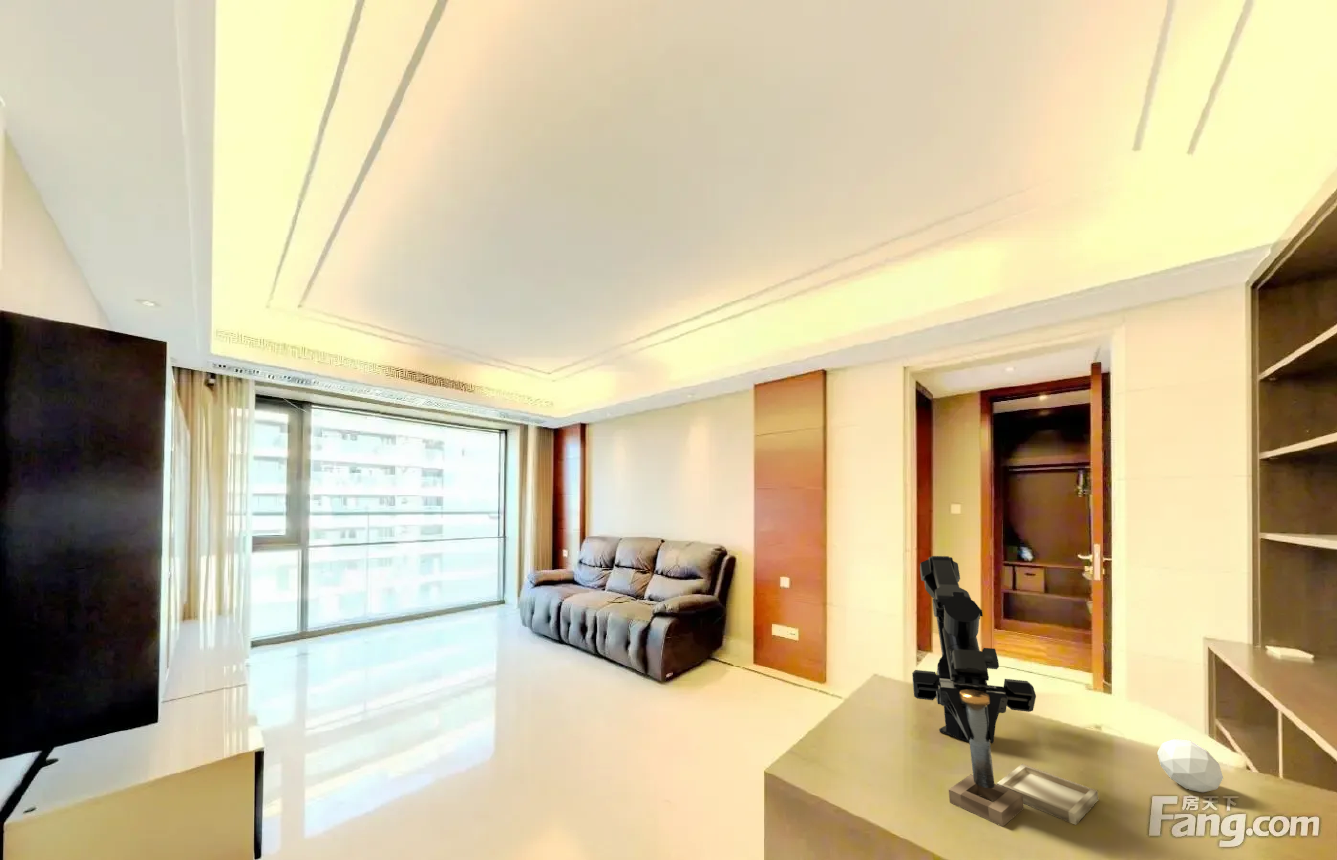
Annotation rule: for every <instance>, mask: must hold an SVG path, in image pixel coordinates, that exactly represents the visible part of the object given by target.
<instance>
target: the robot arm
mask: <svg viewBox="0 0 1337 860" xmlns="http://www.w3.org/2000/svg"><path fill="white" fill-rule="evenodd" d="M919 565H920V566H919V571H920V580H921V582H924V588H925V591H926V592H927V594H929V596H930V597H931V598H932V610H933V615H934V618H936V624H937V630H938V637H939V644H940V648H941V649H940V651H941V657H940V658H939V660H938V663H937V667H936V671H932V670H931V671H929V670H920V669H919V670H918V669H915V670H914V671H913V672H912V687H913V697H914V698H915V699H917V700H918V699H919V700H926V701H934V700H935V699H936V702H937V704H938V705H940V706H942V707H943V711H944V712H943V714H944V722H945V725H944V726H942V727H940V728H939V729H938V731H939V733H942V734H945V735H947V736H951V737H954V738H956V739H959V740H962V741H965V742H968V743H970V741H969V740H970V732H969V727H968V723H967V713H966V704H965V702H964V701H962V700H961V699H960V691H961V690H965V689H970V690H977V691H981V692H984V693H986V694H988V695H989V696H990V704H989V705H986V712H987V721H988V730H989V739H990V744H993V745H994V740H995V733H996V732H995V731H996V726H997V724H996V723H997V720H998V717H999V714H1005V713H1006V712H1007V707H1008V709H1010V710H1011V711H1019V712H1027V713H1030V712H1033V711H1034V708H1035V703H1036V698H1037V695H1036V692H1035V689H1034V686H1033V685H1032V684H1031V683H1030V682H1029V681H1028V680H1023V679H1022V680H1021V679H1011V678H1004V681H1003V682H1004V683H1003V686H999V685H991V684H990V685H989V684H988V681H989V678H990V676H989V672H988V670H990V669H991V670H999V669H998V668H999V667H1000V664H999V659H998V655H997V650H996V648H992V647H990V648H989V647H983V649H982V650H980V647H979V643H978V637H977V636H978V634H979V627H980V626H979V625H980V620H981V617H984V615H983V609H981V608H980V607H979V605H978V604H977V603H976V602H975V601H974V600H973V599H972V598H971V595H970V594H969V592H968V591H967V590H965V589H964V588H962V587H960V584H959V582H960V580H961V575H960V568H959V563H958V562H956V561H954V560H953V556H952V557H950V556H949V555H947V556H946V555H943V556H942V555H932V556H929V557H928V559H926V560H923V561H921V562H920V564H919Z"/></svg>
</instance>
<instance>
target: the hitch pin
mask: <svg viewBox="0 0 1337 860" xmlns="http://www.w3.org/2000/svg"><path fill="white" fill-rule="evenodd" d="M960 699H961V700H962V701H964V702H965V704H966V713H967V723H968V727H969V732H970V740H969V741H970V742H969V748H970V758H971V759H970V760H971V767H972V775H973V779H974V783H975V784H977V785H979V786H981V787H984V788H993V787H995V784H996V783H995V776H994V767H993V760H992V759H993V757H992V748H991V742H990V739H989V730H988V721H987V712H986V705H989V704H990V696H989V695H988V694H986V693H984V692H981V691H977V690H970V689H965V690H961V691H960Z"/></svg>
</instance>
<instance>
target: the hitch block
mask: <svg viewBox="0 0 1337 860" xmlns="http://www.w3.org/2000/svg"><path fill="white" fill-rule="evenodd" d="M948 797H949V803H950V804H953V805H955V806H957V807H958V808H961V809H963V810H966V811H967V812H970V813H972V814H974V815H976V816H979V817H981V818H983V819H985V820H986V821H987V820H988V821H989V822H992V823H994V824H996V825H998V824H999V825H998V826H1001V827H1004V826H1006V825H1007V824H1008V823H1009V822H1010V821H1012V819H1014V818H1015V817H1016V816H1017V815H1018V814H1020V813H1021V811H1023V810H1024V809H1025V804H1024V803H1023V796H1022V795H1021V794H1019V793H1016V792H1014V791H1011V790H1009V789H1006V788H1004V787H1001V786H999V785H997V783H995V787H993V788H984V787H981V786H979V785H977V784H975V783H974V779H973V774H969V775H968V776H966V777H964V778H963V779H962V780H961V781H959V782H957V783H956V784H954V785H953V786H951V787H950V788H948Z"/></svg>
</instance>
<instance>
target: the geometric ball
mask: <svg viewBox="0 0 1337 860" xmlns="http://www.w3.org/2000/svg"><path fill="white" fill-rule="evenodd" d="M1157 757H1158V761H1159V764H1160V767H1161V768H1162V770H1163V771H1164V772H1165V774H1166V775H1167V776H1168V777H1169V778H1170V779H1171V780H1173V781H1174V782H1175V783H1177V784H1179V786H1182V787H1183V788H1185V789H1186V790H1187V789H1189V790H1188V791H1193V792H1198V793H1206V792H1209V791H1211V792H1212V791H1214V790H1218V788H1219V787H1220V785H1221V783H1222V781H1223V779H1224V776H1223V773H1222V770H1221V769H1222V768H1221V764H1220V763H1219V761H1218V760H1216V759H1215V758H1214V756H1212V755H1211V754H1210V752H1209V751H1207V749H1205V748H1204V747H1202V746H1200V745H1198V744H1197V743H1196V742H1194V741H1192V740H1188V739H1187V740H1186V739H1180V738H1179V739H1178V738H1175V739H1174V738H1173V739H1170V740H1168V741H1163V742H1162V743H1161V745H1160V747H1159V748H1158V750H1157Z"/></svg>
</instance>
